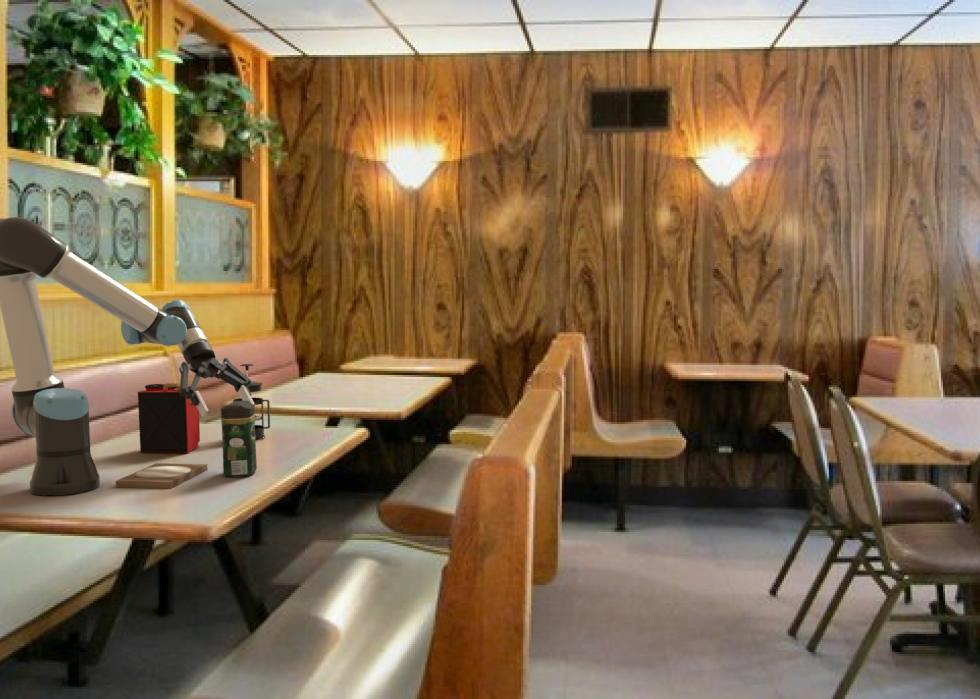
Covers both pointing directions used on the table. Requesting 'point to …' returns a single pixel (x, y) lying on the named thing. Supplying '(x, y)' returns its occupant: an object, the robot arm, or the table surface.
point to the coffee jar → (238, 439)
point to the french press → (257, 401)
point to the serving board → (161, 475)
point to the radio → (167, 420)
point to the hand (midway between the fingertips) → (229, 410)
